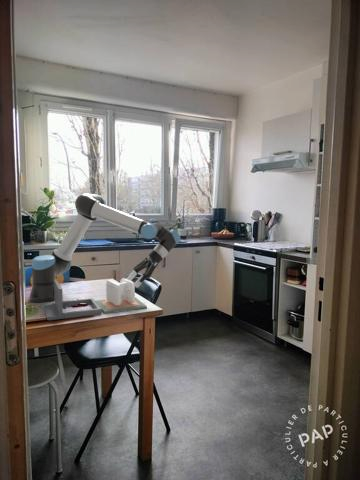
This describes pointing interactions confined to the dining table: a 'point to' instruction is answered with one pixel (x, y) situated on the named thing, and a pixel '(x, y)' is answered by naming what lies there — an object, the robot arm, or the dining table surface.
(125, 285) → the cable organizer
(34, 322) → the dining table surface
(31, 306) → the dining table surface
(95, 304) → the grey tray holder
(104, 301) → the plate
